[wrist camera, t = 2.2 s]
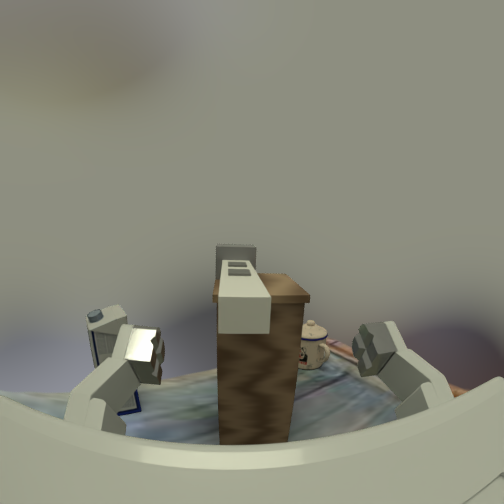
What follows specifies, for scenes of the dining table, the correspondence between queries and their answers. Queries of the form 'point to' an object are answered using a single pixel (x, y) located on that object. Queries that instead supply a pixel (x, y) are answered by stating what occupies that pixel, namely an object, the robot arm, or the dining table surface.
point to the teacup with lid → (313, 346)
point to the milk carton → (108, 343)
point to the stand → (261, 369)
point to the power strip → (241, 292)
